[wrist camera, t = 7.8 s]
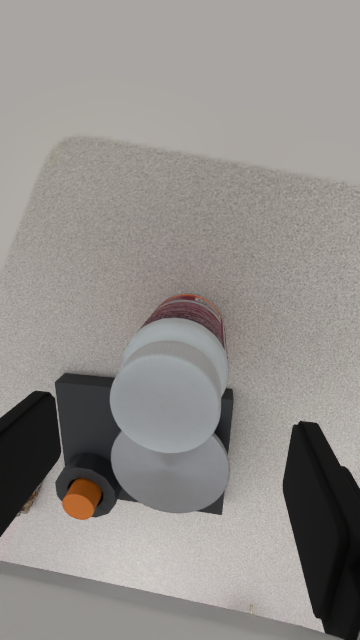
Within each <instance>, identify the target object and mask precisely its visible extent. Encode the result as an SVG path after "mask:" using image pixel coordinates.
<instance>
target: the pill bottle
mask: <svg viewBox="0 0 360 640" xmlns="http://www.w3.org/2000/svg"><path fill="white" fill-rule="evenodd" d="M228 375H229V367H228V357H227V348H226V337H225V327H224V322H223V319H222V316H221V314H220V312H219V311H218V309H217V308H216V307H215V305H213V304H212V303H211V302H210V301H209V300H207V299H205V298H203V297H201V296H198V295H194V294H180V295H175V296H173V297H170V298H169V299H167V300H165V301H164V302H163V303H162V304H161V305H160V306H159V307H158V308H157V309H156V310H155V311H154V313H153V314H152V315H151V316H150V317H149V318H148V319H147V321H146V322H145V323H144V324H143V326H142V327H141V328H140V329H139V330H138V331H137V333H136V334H135V335H134V336H133V338H132V339H131V340H130V342H129V343H128V345H127V347H126V349H125V352H124V355H123V359H122V368H121V370H120V371H119V372H118V374H117V375H116V377H115V379H114V381H113V384H112V387H111V391H110V406H111V411H112V414H113V417H114V419H115V421H116V423H117V425H118V426H119V427H120V429H121V430H122V431H123V432H124V434H126V435H127V436H128V437H129V438H130V439H131V440H133V441H134V442H136V443H137V444H139V445H141V446H143V447H145V448H147V449H150V450H153V451H157V452H162V453H180V452H185V451H189V450H192V449H194V448H196V447H198V446H200V445H201V444H203V443H204V442H205V441H206V440H207V439H208V438H209V437H210V436H211V435H212V434H213V432H214V431H215V429H216V427H217V425H218V423H219V419H220V415H221V397H222V395H223V393H224V391H225V389H226V386H227V382H228Z"/></svg>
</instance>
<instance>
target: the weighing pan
mask: <svg viewBox="0 0 360 640" xmlns="http://www.w3.org/2000/svg"><path fill="white" fill-rule="evenodd" d="M111 464H112V469H113V472H114V474H115V477H116V479H117V480H118V482H119V484H120V485H121V486H122V487H123V489H124V490H125V491H126V492H127V493H128V494H129V495H130V496H132V497H133V498H134V499H136V500H137V501H139V502H140V503H142V504H144V505H146V506H148V507H150V508H153V509H156V510H159V511H163V512H169V513H188V512H194V511H197V510H200V509H203V508H205V507H207V506H209V505H211V504H212V503H214V502H215V501H216V500H217V499H218V498H219V497H220V496H221V495H222V493H223V492H224V490H225V488H226V486H227V484H228V480H229V472H230V468H229V459H228V455H227V452H226V449H225V447H224V445H223V444H222V442H221V441H220V439H219V438H218V437H217V435H216V434H215V433H214V432H213V434H212V435H211V436H210V437H209V438H208V439H207V440H206V441H205V442H204V443H203V444H201V445H200V446H198V447H196V448H194V449H192V450H189V451H185V452H180V453H162V452H157V451H153V450H150V449H147V448H145V447H143V446H141V445H139V444H137V443H136V442H134V441H133V440H131V439H130V438H129V437H128V436H127V435H126V434H124V432H123V431H122V430H121V431H120V432H119V434H118V436H117V437H116V439H115V441H114V444H113V447H112V451H111Z"/></svg>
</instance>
